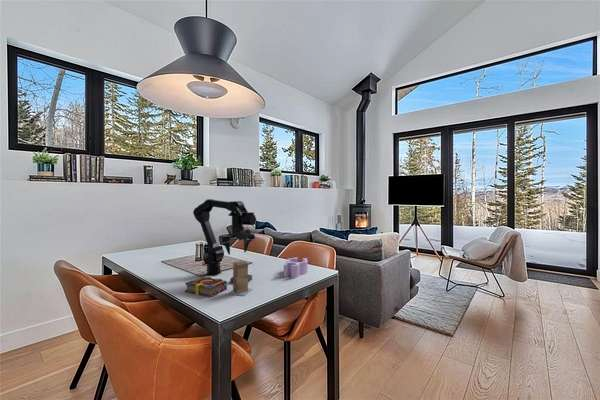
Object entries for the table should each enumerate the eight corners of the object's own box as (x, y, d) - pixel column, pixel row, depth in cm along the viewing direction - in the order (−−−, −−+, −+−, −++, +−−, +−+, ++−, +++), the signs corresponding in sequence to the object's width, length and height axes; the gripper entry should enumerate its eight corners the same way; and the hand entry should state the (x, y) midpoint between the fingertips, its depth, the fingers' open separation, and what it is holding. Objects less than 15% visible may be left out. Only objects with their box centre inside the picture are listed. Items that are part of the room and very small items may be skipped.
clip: (299, 279, 144) (299, 266, 144) (278, 277, 148) (278, 264, 148) (310, 269, 163) (310, 258, 163) (291, 267, 167) (291, 256, 167)
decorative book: (203, 285, 134) (203, 275, 134) (229, 290, 127) (229, 279, 127) (184, 292, 124) (184, 281, 124) (211, 298, 117) (211, 287, 117)
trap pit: (230, 282, 137) (230, 278, 137) (238, 278, 145) (238, 273, 145) (244, 284, 135) (244, 279, 135) (252, 279, 143) (252, 274, 143)
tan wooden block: (233, 290, 125) (233, 262, 125) (243, 288, 128) (243, 260, 128) (237, 293, 121) (237, 264, 121) (247, 291, 124) (247, 262, 124)
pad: (228, 294, 122) (228, 292, 122) (237, 288, 129) (237, 287, 129) (244, 295, 120) (244, 294, 119) (252, 289, 127) (252, 288, 127)
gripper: (226, 227, 134) (226, 258, 134) (259, 224, 145) (259, 253, 146) (218, 225, 143) (218, 254, 143) (250, 223, 154) (250, 250, 154)
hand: (237, 253), depth 146 cm, fingers open, 9 cm apart
